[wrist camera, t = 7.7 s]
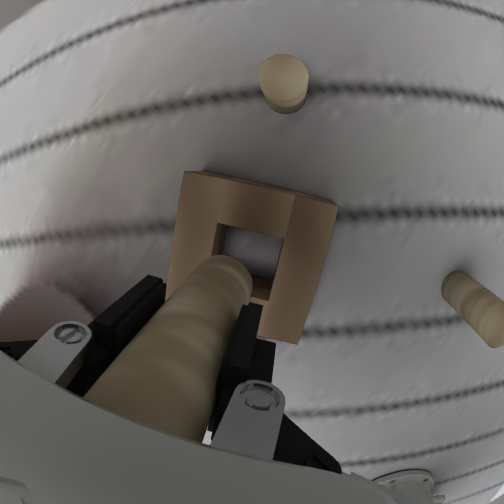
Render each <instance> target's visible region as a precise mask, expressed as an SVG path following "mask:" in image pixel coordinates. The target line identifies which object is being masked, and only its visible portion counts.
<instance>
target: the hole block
mask: <svg viewBox="0 0 504 504" xmlns="http://www.w3.org/2000/svg"><path fill="white" fill-rule="evenodd" d="M338 208H339V206H338V205H336V204H335V203H334V202H333V201H332V200H328V199H325V198H321V197H317V196H313V195H309V194H305V193H301V192H297V191H293V190H289V189H284V188H280V187H276V186H272V185H267V184H263V183H258V182H254V181H249V180H245V179H240V178H235V177H230V176H226V175H221V174H216V173H211V172H206V171H184V175H183V181H182V186H181V192H180V198H179V203H178V209H177V216H176V222H175V228H174V235H173V242H172V249H171V256H170V264H169V271H168V280H167V288H166V297H165V302H166V300H167V299H168V298H169V297H170V296H171V295H172V294H173V293H174V291H175V290H176V289H177V288H178V287H179V286H180V285H181V284H182V283H183V281H184V280H185V279H186V278H187V277H188V276H189V275H190V274H191V273H192V271H193V270H194V269H195V268H196V267H197V266H198V265H199V264H200V263H201V262H202V261H203V260H205V259H206V258H208V257H211V256H214V255H222V250H223V245H224V240H225V235H226V230H227V225H230V226H234V227H238V228H242V229H247V230H251V231H255V232H259V233H263V234H267V235H272V236H276V237H280V238H283V243H282V247H281V251H280V255H279V259H278V263H277V267H276V271H275V275H274V278H273V281H272V280H268V279H264V278H260V277H256V276H252V275H251V278H252V284H253V288H252V293H251V296H250V299H249V302H252V303H256V304H260V305H263V309H262V314H261V319H260V323H259V328H258V332H257V335H259V336H263V337H267V338H271V339H275V340H279V341H284V342H288V343H292V344H297V345H298V342H299V339H300V336H301V333H302V330H303V327H304V324H305V321H306V318H307V315H308V312H309V309H310V306H311V302H312V299H313V296H314V293H315V290H316V286H317V283H318V280H319V276H320V273H321V269H322V266H323V263H324V259H325V256H326V252H327V249H328V245H329V241H330V238H331V234H332V230H333V227H334V223H335V219H336V215H337V211H338ZM249 302H248V304H249Z"/></svg>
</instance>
